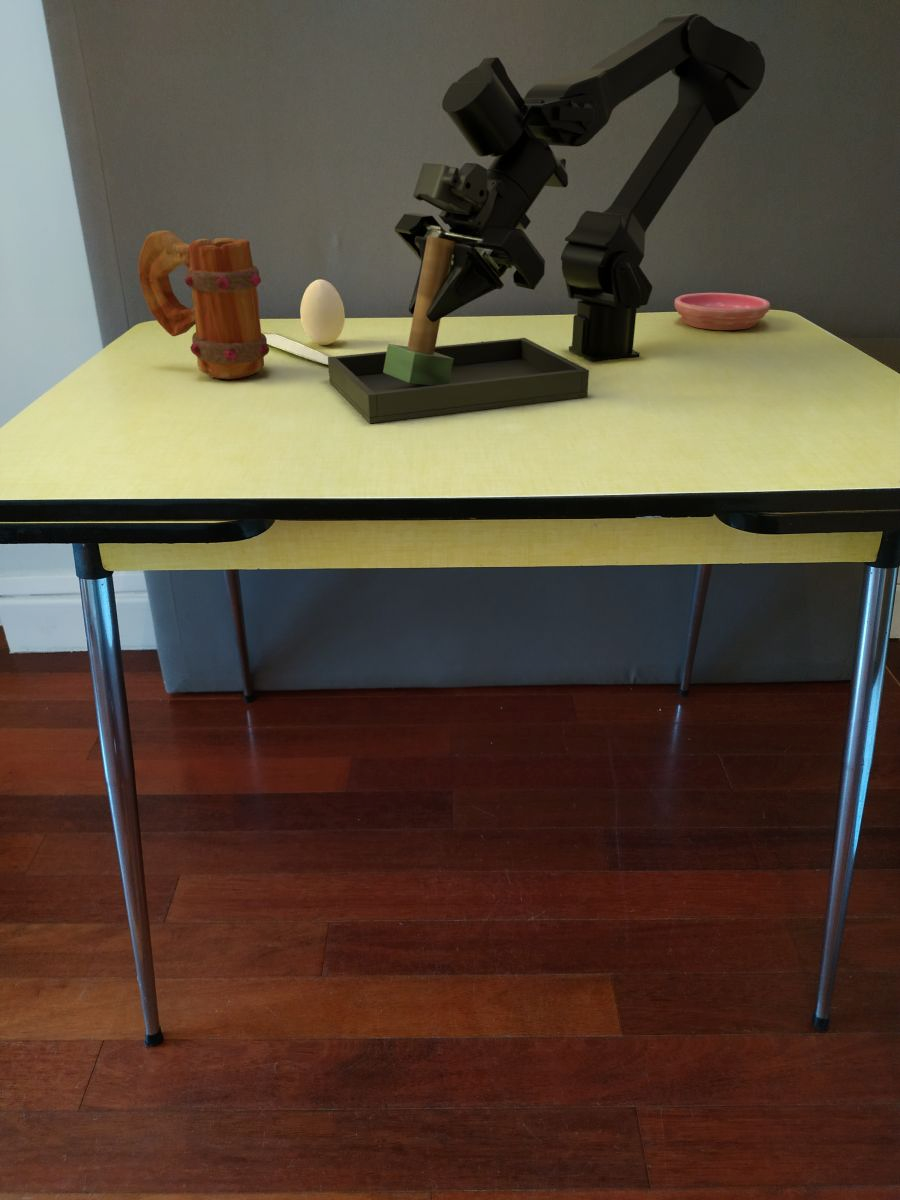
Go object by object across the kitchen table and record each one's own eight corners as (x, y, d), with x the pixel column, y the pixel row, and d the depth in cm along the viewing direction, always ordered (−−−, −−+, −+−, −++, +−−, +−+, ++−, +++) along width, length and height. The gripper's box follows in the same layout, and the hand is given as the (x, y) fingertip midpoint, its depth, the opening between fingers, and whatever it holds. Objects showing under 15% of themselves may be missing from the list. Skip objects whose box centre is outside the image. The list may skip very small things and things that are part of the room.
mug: (287, 368, 105) (274, 229, 98) (252, 387, 99) (235, 239, 91) (179, 358, 110) (159, 224, 102) (138, 376, 103) (113, 234, 96)
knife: (362, 373, 107) (327, 374, 104) (227, 321, 129) (195, 320, 126) (363, 362, 106) (328, 363, 103) (227, 311, 129) (195, 311, 126)
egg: (351, 340, 117) (347, 276, 113) (339, 350, 113) (335, 284, 109) (310, 339, 118) (305, 275, 114) (297, 349, 113) (291, 283, 110)
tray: (524, 361, 107) (524, 337, 106) (587, 396, 95) (589, 370, 93) (329, 382, 100) (327, 356, 99) (369, 423, 87) (368, 395, 86)
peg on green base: (421, 377, 98) (446, 240, 93) (448, 387, 95) (476, 246, 90) (382, 372, 95) (406, 231, 90) (409, 383, 92) (435, 236, 87)
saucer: (669, 313, 131) (671, 290, 129) (758, 315, 129) (762, 292, 127) (676, 332, 120) (678, 308, 118) (773, 335, 118) (777, 310, 117)
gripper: (407, 127, 93) (321, 251, 93) (526, 132, 80) (427, 276, 80) (467, 205, 101) (388, 320, 101) (585, 221, 88) (495, 352, 88)
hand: (420, 316), depth 92 cm, fingers closed on peg on green base, 3 cm apart
